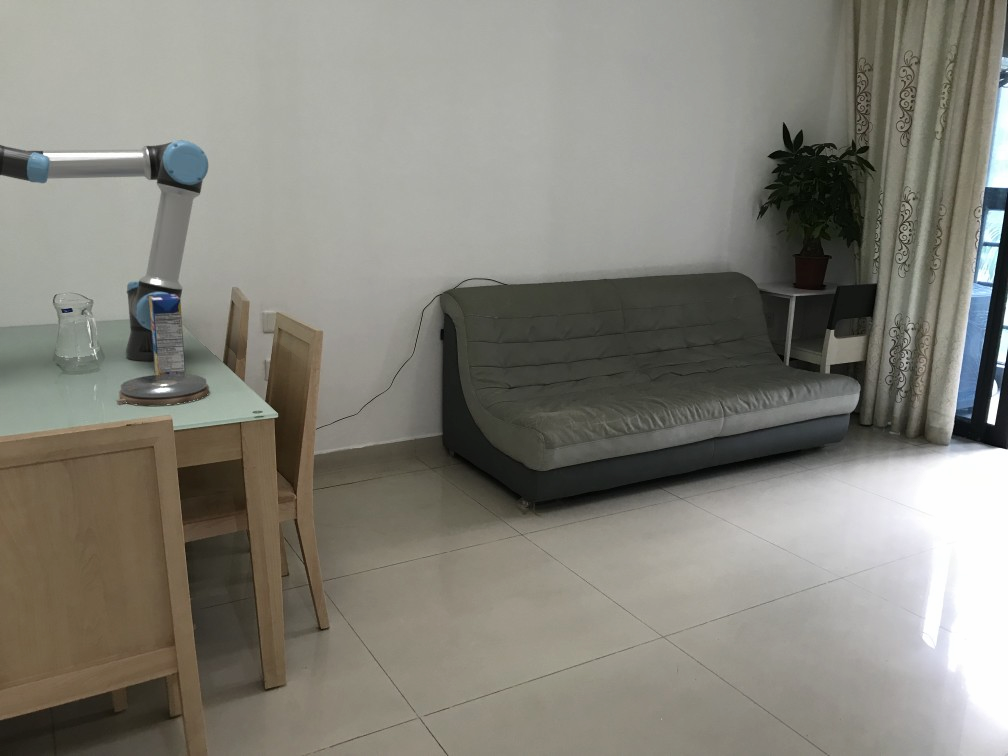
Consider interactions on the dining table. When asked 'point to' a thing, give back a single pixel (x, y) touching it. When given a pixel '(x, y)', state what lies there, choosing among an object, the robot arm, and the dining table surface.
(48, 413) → the dining table surface
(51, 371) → the dining table surface
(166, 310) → the beverage box
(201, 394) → the turntable base
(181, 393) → the turntable
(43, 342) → the dining table surface
